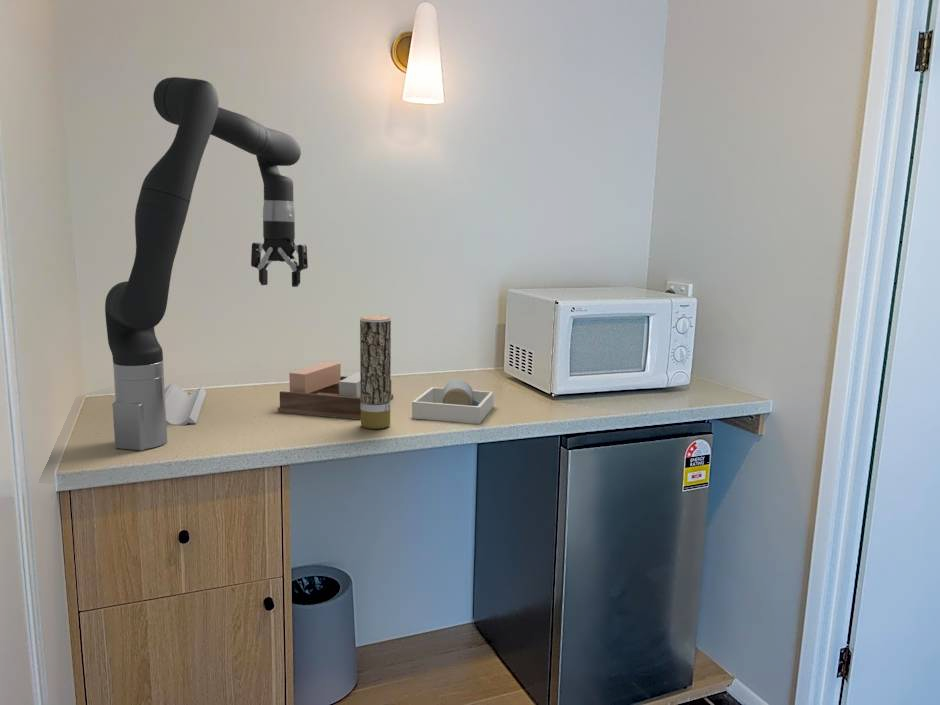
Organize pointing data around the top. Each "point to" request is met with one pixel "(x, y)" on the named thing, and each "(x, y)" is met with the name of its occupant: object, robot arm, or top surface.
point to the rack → (321, 403)
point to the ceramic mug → (458, 393)
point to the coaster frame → (451, 407)
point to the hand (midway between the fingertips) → (279, 285)
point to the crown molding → (182, 405)
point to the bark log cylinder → (375, 371)
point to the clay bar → (315, 377)
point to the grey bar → (350, 386)
